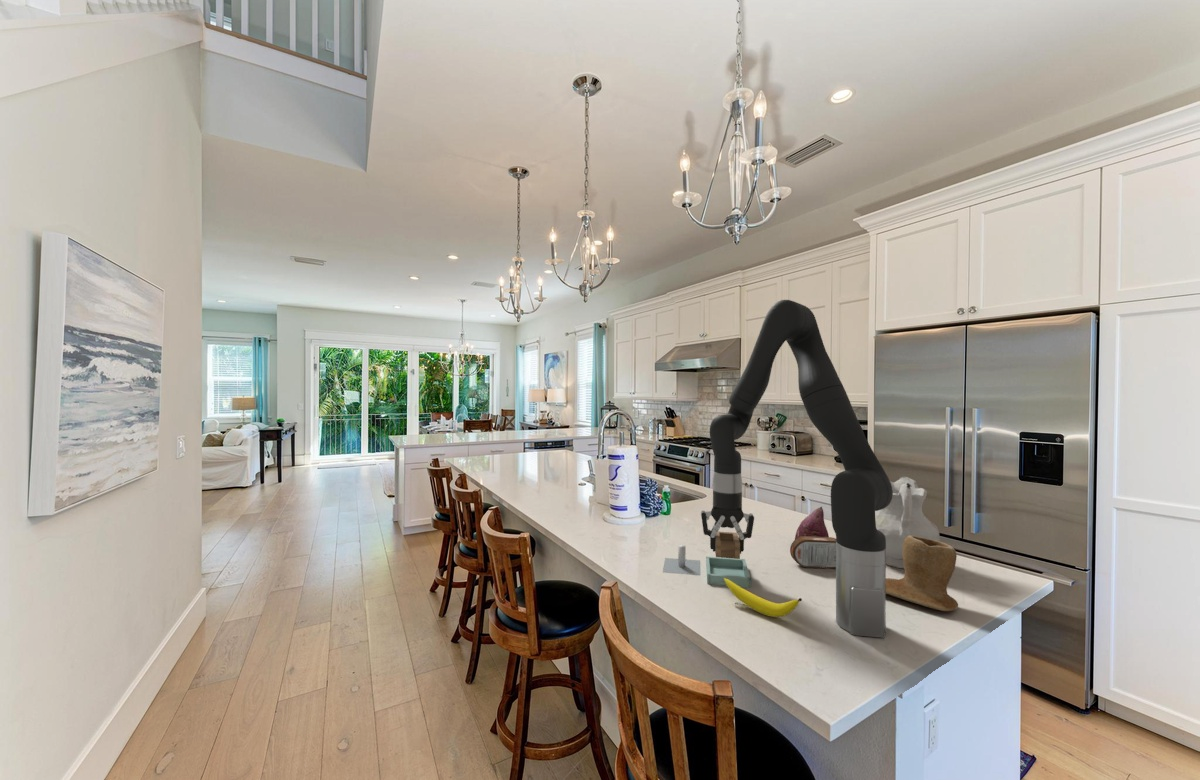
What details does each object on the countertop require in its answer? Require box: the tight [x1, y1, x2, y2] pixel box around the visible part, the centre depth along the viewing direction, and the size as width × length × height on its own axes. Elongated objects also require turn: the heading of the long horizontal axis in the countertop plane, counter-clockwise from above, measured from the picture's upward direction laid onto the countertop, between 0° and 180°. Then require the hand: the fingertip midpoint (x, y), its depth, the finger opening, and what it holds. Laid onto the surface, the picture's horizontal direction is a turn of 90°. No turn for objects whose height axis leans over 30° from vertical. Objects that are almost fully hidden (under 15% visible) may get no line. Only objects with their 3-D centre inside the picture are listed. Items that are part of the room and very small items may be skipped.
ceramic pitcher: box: [875, 475, 940, 569], centre depth 135 cm, size 22×20×25 cm
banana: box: [724, 578, 802, 618], centre depth 105 cm, size 3×19×6 cm, turn 41°
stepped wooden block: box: [714, 531, 741, 559], centre depth 125 cm, size 9×6×4 cm, turn 168°
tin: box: [789, 536, 836, 570], centre depth 132 cm, size 15×3×8 cm, turn 84°
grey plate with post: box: [662, 544, 701, 576], centre depth 131 cm, size 11×10×6 cm
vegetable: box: [794, 506, 830, 540], centre depth 149 cm, size 10×10×15 cm
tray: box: [705, 556, 752, 588], centre depth 125 cm, size 14×11×3 cm
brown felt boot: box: [886, 535, 959, 612], centre depth 111 cm, size 15×12×15 cm
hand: (726, 551), depth 125 cm, fingers closed on stepped wooden block, 6 cm apart
